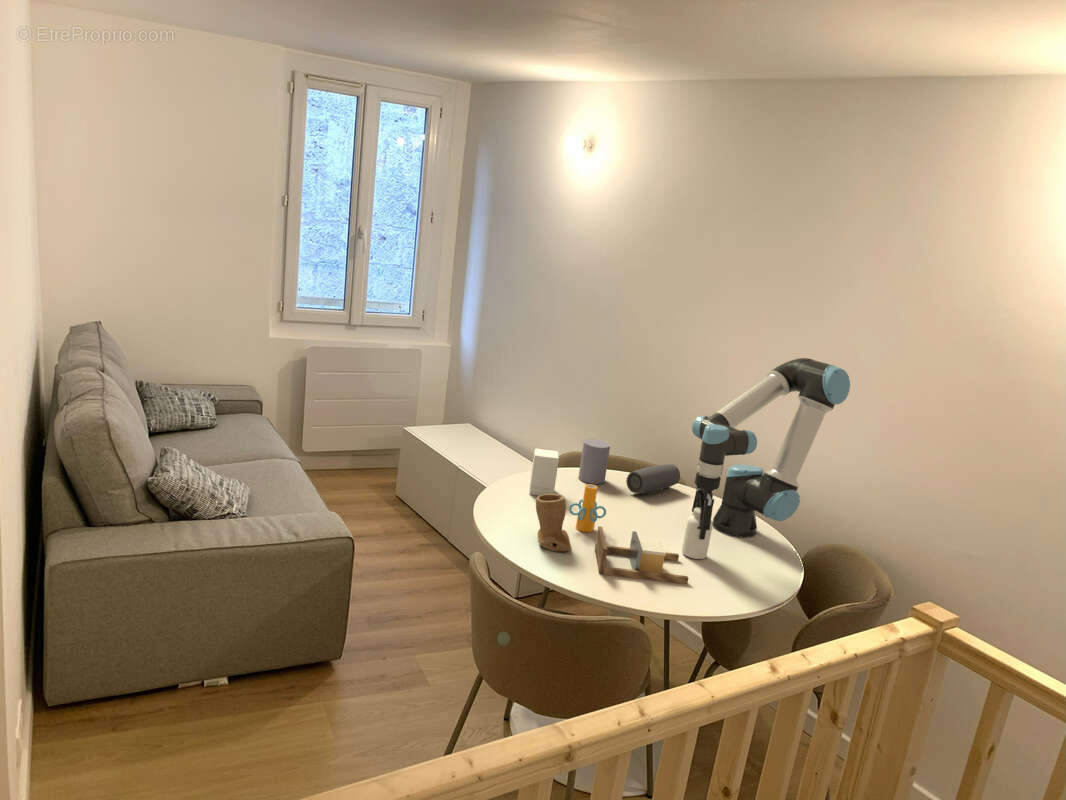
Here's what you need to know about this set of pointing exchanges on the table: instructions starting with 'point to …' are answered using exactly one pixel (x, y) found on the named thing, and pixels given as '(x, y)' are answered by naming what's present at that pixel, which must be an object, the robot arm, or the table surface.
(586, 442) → the container
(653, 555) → the cream cube
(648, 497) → the table surface
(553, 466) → the supplement box
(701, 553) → the pill bottle
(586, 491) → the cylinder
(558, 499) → the brown felt boot
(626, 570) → the lane
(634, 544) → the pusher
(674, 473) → the bluetooth speaker
